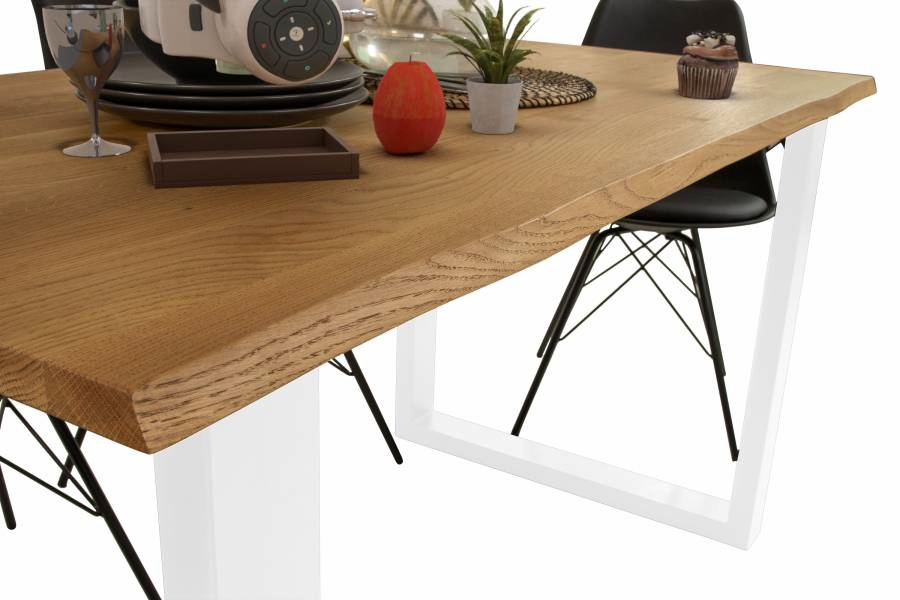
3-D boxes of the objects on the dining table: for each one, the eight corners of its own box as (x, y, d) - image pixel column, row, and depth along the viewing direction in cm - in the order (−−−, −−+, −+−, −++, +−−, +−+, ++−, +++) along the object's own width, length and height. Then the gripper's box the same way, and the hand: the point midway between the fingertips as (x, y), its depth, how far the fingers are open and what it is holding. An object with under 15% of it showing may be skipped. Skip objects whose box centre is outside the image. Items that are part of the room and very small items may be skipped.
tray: (155, 189, 94) (152, 161, 93) (148, 157, 107) (146, 132, 106) (359, 179, 100) (359, 153, 99) (329, 149, 113) (329, 126, 112)
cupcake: (747, 96, 159) (755, 31, 156) (713, 102, 153) (720, 34, 149) (695, 89, 166) (702, 26, 162) (661, 94, 159) (667, 29, 156)
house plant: (493, 115, 137) (497, -10, 131) (573, 130, 128) (582, -4, 122) (417, 127, 127) (419, -8, 122) (499, 143, 118) (505, -1, 113)
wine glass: (118, 140, 115) (106, 3, 110) (146, 152, 109) (134, 9, 104) (48, 147, 110) (31, 5, 105) (73, 160, 105) (57, 11, 99)
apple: (417, 163, 107) (418, 61, 104) (356, 153, 111) (355, 54, 108) (458, 151, 114) (461, 54, 110) (399, 142, 118) (400, 48, 114)
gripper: (382, -22, 88) (348, -29, 100) (138, -24, 82) (134, -30, 94) (382, 52, 90) (349, 37, 103) (145, 55, 84) (139, 39, 97)
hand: (244, 5), depth 98 cm, fingers closed on cup, 6 cm apart
